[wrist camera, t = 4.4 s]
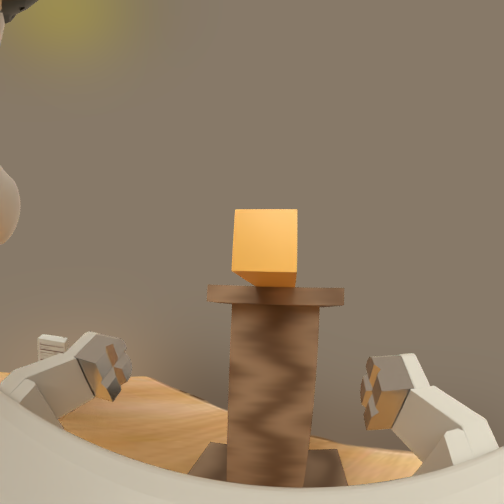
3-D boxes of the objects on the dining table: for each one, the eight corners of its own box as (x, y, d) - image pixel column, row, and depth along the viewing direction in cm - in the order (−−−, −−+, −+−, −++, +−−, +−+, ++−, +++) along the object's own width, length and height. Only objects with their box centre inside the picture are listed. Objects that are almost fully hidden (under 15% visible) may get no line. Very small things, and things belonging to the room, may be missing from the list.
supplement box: (44, 381, 52) (42, 333, 54) (70, 384, 55) (68, 337, 58) (39, 389, 45) (36, 337, 48) (67, 393, 49) (65, 341, 51)
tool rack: (171, 505, 21) (167, 282, 26) (210, 449, 37) (214, 293, 43) (352, 519, 18) (386, 287, 23) (335, 456, 35) (350, 297, 40)
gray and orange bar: (231, 270, 15) (235, 209, 16) (269, 295, 40) (270, 271, 41) (296, 272, 15) (297, 209, 15) (293, 296, 40) (294, 272, 41)
